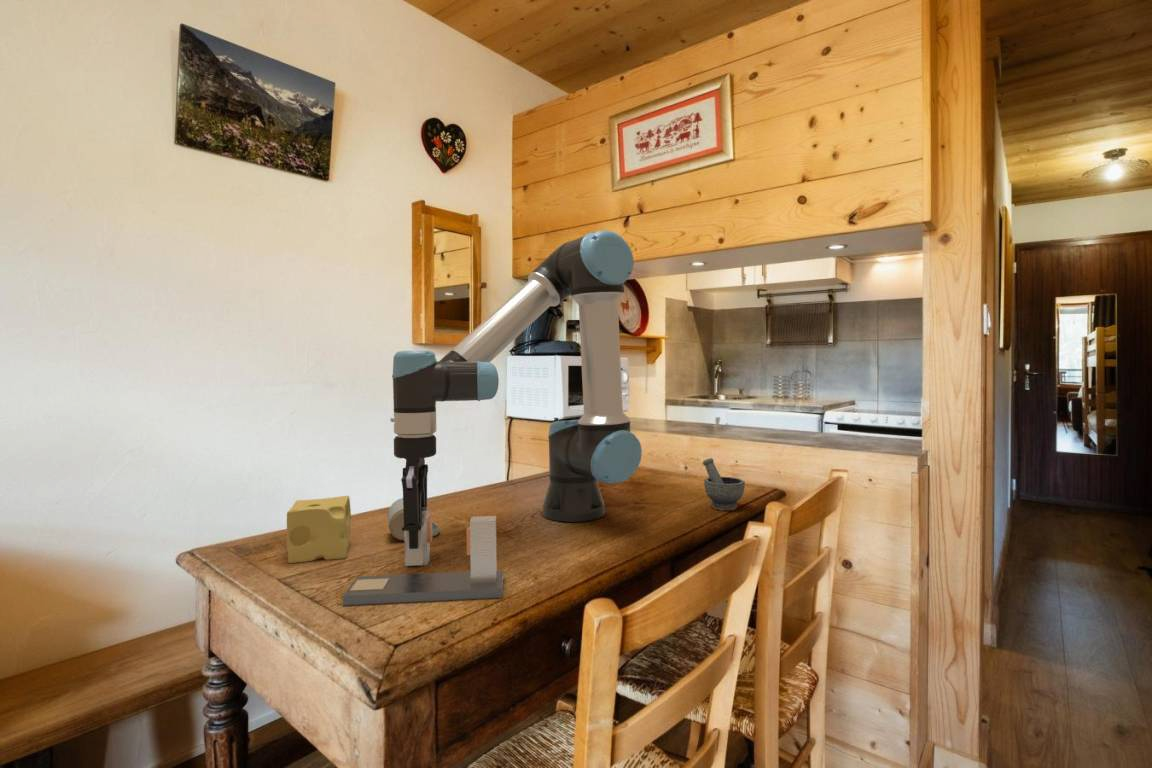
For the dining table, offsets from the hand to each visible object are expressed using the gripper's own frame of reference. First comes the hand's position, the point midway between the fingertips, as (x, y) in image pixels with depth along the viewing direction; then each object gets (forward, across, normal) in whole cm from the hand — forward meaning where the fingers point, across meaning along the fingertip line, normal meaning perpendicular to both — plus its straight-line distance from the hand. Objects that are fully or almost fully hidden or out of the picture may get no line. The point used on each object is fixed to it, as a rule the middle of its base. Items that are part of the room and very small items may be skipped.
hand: (416, 561), depth 105 cm
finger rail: (0, +14, +4) cm, 15 cm away
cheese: (+1, -8, -20) cm, 21 cm away
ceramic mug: (+1, -17, -4) cm, 18 cm away
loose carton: (0, 0, 0) cm, 0 cm away
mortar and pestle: (0, -32, +70) cm, 77 cm away
